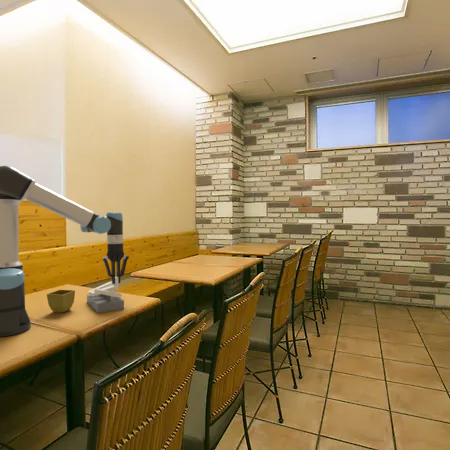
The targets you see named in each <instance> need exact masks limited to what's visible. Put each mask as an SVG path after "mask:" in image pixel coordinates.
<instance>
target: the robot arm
mask: <svg viewBox="0 0 450 450" xmlns="http://www.w3.org/2000/svg"><path fill="white" fill-rule="evenodd" d="M24 200H27V201H29V202H30V203H33V204H35V205H38V206H39V207H42V208H44V209H45V210H47V211H50V212H52V213H54V214H56V215H59V216H60V217H63V218H65V219H67V220H70V221H72V222H74V223H76V224H77V225H79V226H80V231H81V232H82V233H96V234H100V235H102V234H105V233H106V242H107V245H106V247H107V251H106V252H107V253H106V256H104V257H102V258H101V260H102V261H103V263H104V266H105V270H106V274H107V276H108V277H110V278H111V281H112V284H114V286H118V289H116V290H114V292H116V291H119V290H120V289H119V284H121V277H122V276H124V275H125V272H126V267H127V262H128V260H129V257H130V256H128V255H126V254H125V252H124V243H123V242H124V233H123V232H124V230H123V228H124V227H123V226H124V224H123V223H124V220H123V218H124V217H123V213H122V212H120V211H115V212H114V211H111V212H109V211H108V212H106V215H100V214H98V213H96V212H94V211H92V210H91V209H89V208H86V207H84V206H82V205H80V204H79V203H76V202H75V201H72V200H70V199H68V198H66V197H64V196H63V195H60V194H58V193H56V192H54V191H52V190H51V189H49V188H47V187H44V186H42V185H40V184H38V183H36V181H35V179H34V178H32V177H30V176H29V175H27V174H25V173H23V172H22V171H20V170H19V169H17V168H16V167H13V166H9V165H0V338H1V337H8V336H14V335H18V334H21V333H24V332H26V331H28V330H30V328H32V325H31V324H32V322H31V319H30V316H29V314H28V312H27V309H26V294H25V293H26V291H25V290H26V288H25V286H26V285H25V281H26V279H25V278H26V277H25V272H24V267H23V266H24V263H23V262H21V261H20V260H19V258H20V256H19V252H20V251H19V249H20V248H19V246H20V245H19V243H20V242H19V234H20V233H19V232H20V231H19V229H20V228H19V226H20V225H19V205H20V204H21V203H22V202H23V201H24ZM108 260H109V261H110V265H111V266H110V265H109V261H108ZM121 260H122V261H121ZM121 262H122V264H121ZM110 267H111V269H110Z"/></svg>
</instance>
